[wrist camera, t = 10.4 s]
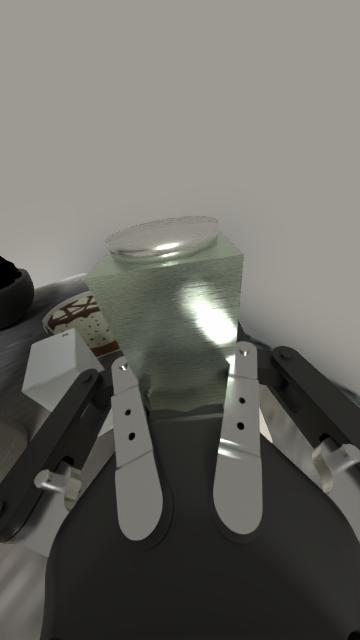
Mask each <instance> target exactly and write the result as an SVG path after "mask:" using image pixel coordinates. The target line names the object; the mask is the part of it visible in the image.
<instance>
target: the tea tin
mask: <svg viewBox="0 0 360 640" xmlns="http://www.w3.org/2000/svg"><path fill="white" fill-rule="evenodd" d="M106 244H107V246H108V248H109V252H108V253H107V254H106V255H105V256H104V257H103V258H102V259H101V260H100V262H99V263H98V264H97V265H96V266H95V267H94V268H93V269H92V270H91V271H90V272H89V273H88V274H87V276H86V277H85V278H84V280H85V282H86V284H87V286H88V288H89V290H90V292H91V294H92V295H93V297H94V299H95V301H96V303H97V305H98V307H99V309H100V311H101V313H102V315H103V316H104V318H105V320H106V322H107V324H108V326H109V328H110V330H111V332H112V334H113V336H114V337H115V339H116V341H117V343H118V345H119V347H120V349H121V351H122V353H123V355H124V357H125V358H126V360H127V362H128V364H129V366H130V368H131V370H132V372H133V374H134V375H137V376H138V378H139V380H140V383H141V387H142V391H143V393H144V395H148V397H149V400H150V404H151V407H152V410H160V409H171V410H177V411H183V412H187V411H190V410H192V409H195V408H198V407H200V406H203V405H208V404H218V403H222V404H223V408H224V406H225V398H226V391H227V383H228V376H229V371H230V364H235V352H236V340H237V328H238V316H239V305H240V293H241V281H242V270H243V269H242V268H243V258H244V254H243V253H242V252H241V251H240V250H239V249H238V248H237V247H236V246H235V245H234V244H233V243H232V242H231V241H230V240H229V239H228V238H227V237H226V236H225V235H224V234H223V233H222V232H221V231H220V230H219V229H218V220H217V219H215V218H213V217H207V216H187V217H177V218H169V219H163V220H157V221H152V222H148V223H144V224H140V225H136V226H133V227H130V228H127V229H124V230H121V231H119V232H116V233H114V234H112V235H111V236H109V237H108V238H107V239H106Z"/></svg>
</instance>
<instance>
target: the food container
mask: <svg viewBox="0 0 360 640" xmlns="http://www.w3.org/2000/svg"><path fill="white" fill-rule="evenodd" d="M42 323H43V327H44V329H45V331H46V333H48V332H49V330H50V331H51V332H52V333H53V334H54V335H56V334H59V333H62V332H64V331H67V330H69V329H72V328H75V329H76V331H77V332H78V333H79V334H80V336H81V337H82V339H83V340H84V341H85V343H86V344H87V346H88V347H89V349H90V350H91V351H92V353H93V354H94V355H95V357H96V358H97V359H98V358H100V357H103V356H106V355H108V354H111V353H114V352H117V351H119V350H121V349H120V347H119V345H118V343H117V341H116V339H115V337H114V336H113V334H112V332H111V330H110V328H109V326H108V324H107V322H106V320H105V318H104V316H103V315H102V313H101V311H100V309H99V307H98V305H97V303H96V301H95V299H94V297H93V295H92V294H91V292H90V291H87V292H84V293H81V294H78V295H76V296H73V297H71V298H69V299H67V300H65V301H63V302H62V303H60V304H58V305H57V306H56V307H54V308H53V309H52V310H51V311H50V312H49V313H48V314H47V315H46V316H45V317H44V319H43V320H42Z"/></svg>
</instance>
